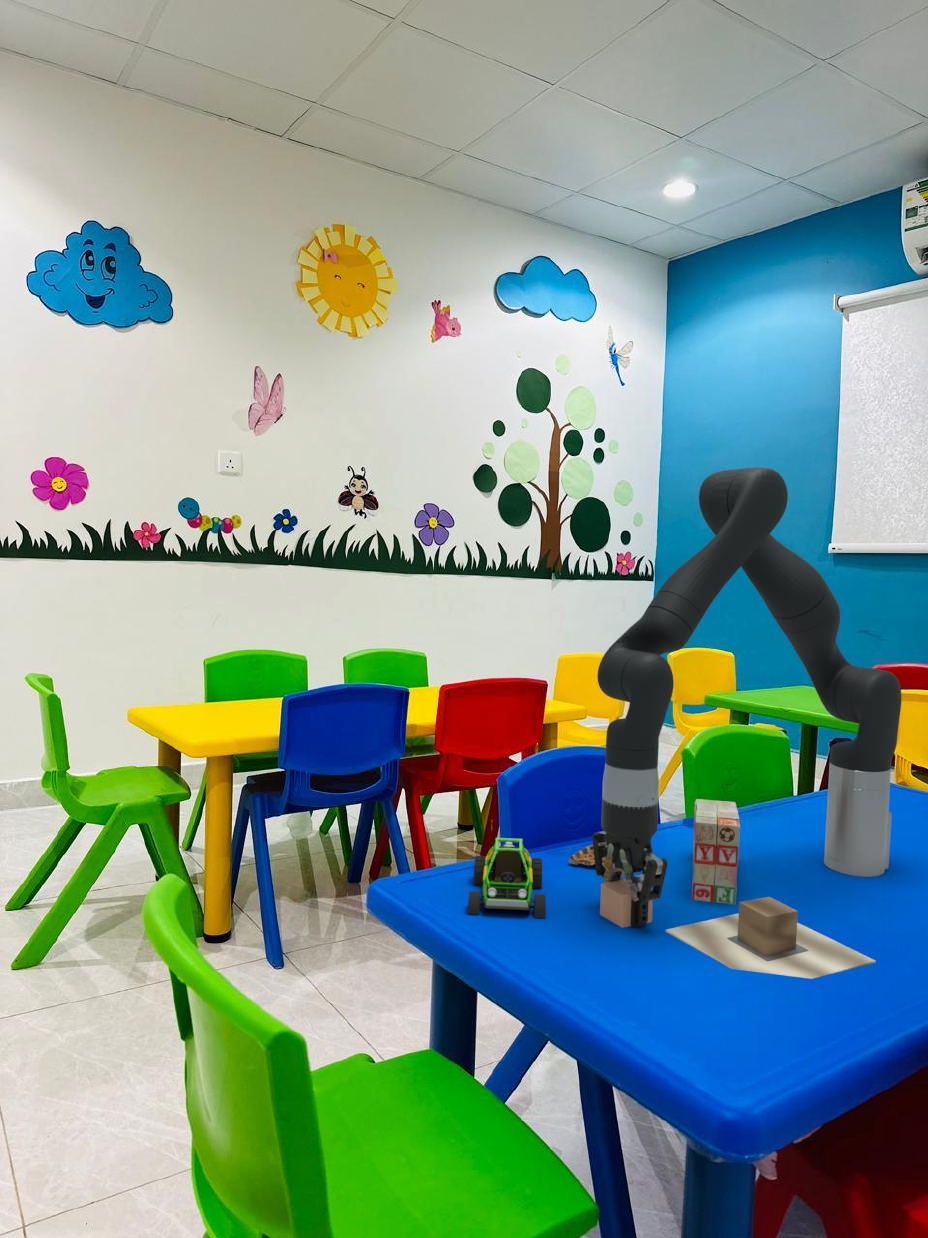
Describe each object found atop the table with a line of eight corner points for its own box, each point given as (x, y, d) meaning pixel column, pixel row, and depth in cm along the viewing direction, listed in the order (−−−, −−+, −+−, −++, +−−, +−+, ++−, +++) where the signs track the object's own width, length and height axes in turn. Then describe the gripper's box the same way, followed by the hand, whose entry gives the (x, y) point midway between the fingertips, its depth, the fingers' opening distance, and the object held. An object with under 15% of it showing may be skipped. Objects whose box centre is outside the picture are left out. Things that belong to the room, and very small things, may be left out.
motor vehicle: (467, 923, 123) (469, 854, 122) (474, 875, 140) (475, 815, 139) (545, 927, 122) (547, 858, 121) (542, 879, 140) (543, 818, 139)
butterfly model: (567, 862, 145) (567, 844, 145) (601, 843, 155) (601, 826, 155) (616, 874, 140) (616, 854, 140) (647, 854, 150) (648, 836, 150)
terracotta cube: (629, 912, 127) (630, 878, 126) (651, 926, 122) (653, 891, 122) (599, 918, 124) (601, 883, 124) (621, 933, 120) (623, 896, 119)
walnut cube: (767, 933, 118) (769, 896, 118) (795, 949, 113) (797, 911, 113) (737, 939, 116) (739, 902, 116) (765, 956, 111) (767, 917, 111)
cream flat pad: (765, 914, 127) (766, 906, 127) (875, 968, 111) (875, 960, 111) (665, 937, 119) (665, 929, 119) (768, 999, 103) (768, 990, 103)
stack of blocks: (692, 855, 152) (695, 783, 150) (730, 859, 150) (734, 786, 149) (691, 903, 131) (695, 820, 130) (736, 908, 129) (740, 825, 128)
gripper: (687, 807, 117) (681, 934, 119) (620, 781, 130) (616, 895, 131) (641, 814, 114) (636, 944, 115) (577, 786, 126) (573, 903, 128)
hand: (625, 917), depth 123 cm, fingers closed on terracotta cube, 5 cm apart
